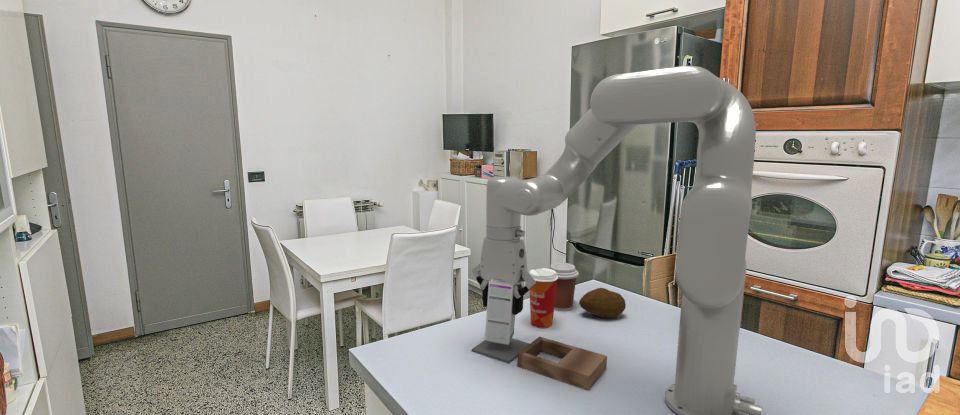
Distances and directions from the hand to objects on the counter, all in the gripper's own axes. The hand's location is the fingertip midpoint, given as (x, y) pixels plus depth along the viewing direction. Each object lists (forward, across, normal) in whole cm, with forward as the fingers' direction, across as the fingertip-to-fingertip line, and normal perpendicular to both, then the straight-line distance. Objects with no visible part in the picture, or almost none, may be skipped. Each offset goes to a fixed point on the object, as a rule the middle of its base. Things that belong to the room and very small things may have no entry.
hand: (502, 308), depth 106 cm
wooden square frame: (+10, -15, 0) cm, 18 cm away
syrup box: (+7, +1, 0) cm, 7 cm away
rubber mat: (+10, 0, 0) cm, 10 cm away
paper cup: (+10, -1, -18) cm, 21 cm away
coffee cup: (+10, 0, -32) cm, 34 cm away
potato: (+10, -12, -32) cm, 36 cm away
